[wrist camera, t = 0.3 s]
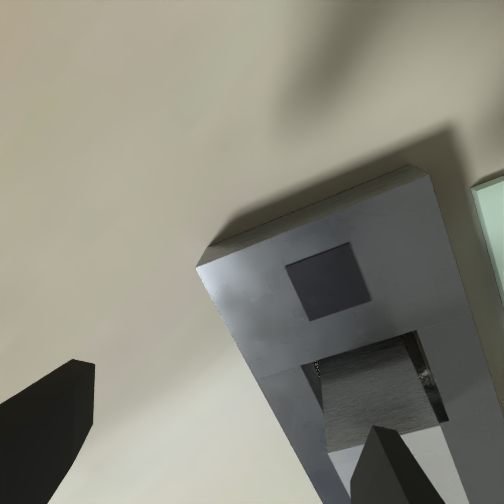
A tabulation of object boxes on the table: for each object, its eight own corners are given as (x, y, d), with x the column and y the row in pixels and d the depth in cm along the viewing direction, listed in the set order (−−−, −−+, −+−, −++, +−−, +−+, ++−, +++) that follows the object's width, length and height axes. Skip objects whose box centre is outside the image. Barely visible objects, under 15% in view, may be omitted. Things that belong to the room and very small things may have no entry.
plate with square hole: (504, 457, 22) (529, 501, 20) (336, 494, 25) (340, 537, 22) (410, 164, 17) (430, 175, 14) (206, 247, 19) (194, 268, 17)
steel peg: (415, 377, 21) (469, 504, 14) (343, 397, 22) (364, 525, 15) (391, 317, 20) (440, 425, 13) (316, 341, 21) (327, 453, 14)
